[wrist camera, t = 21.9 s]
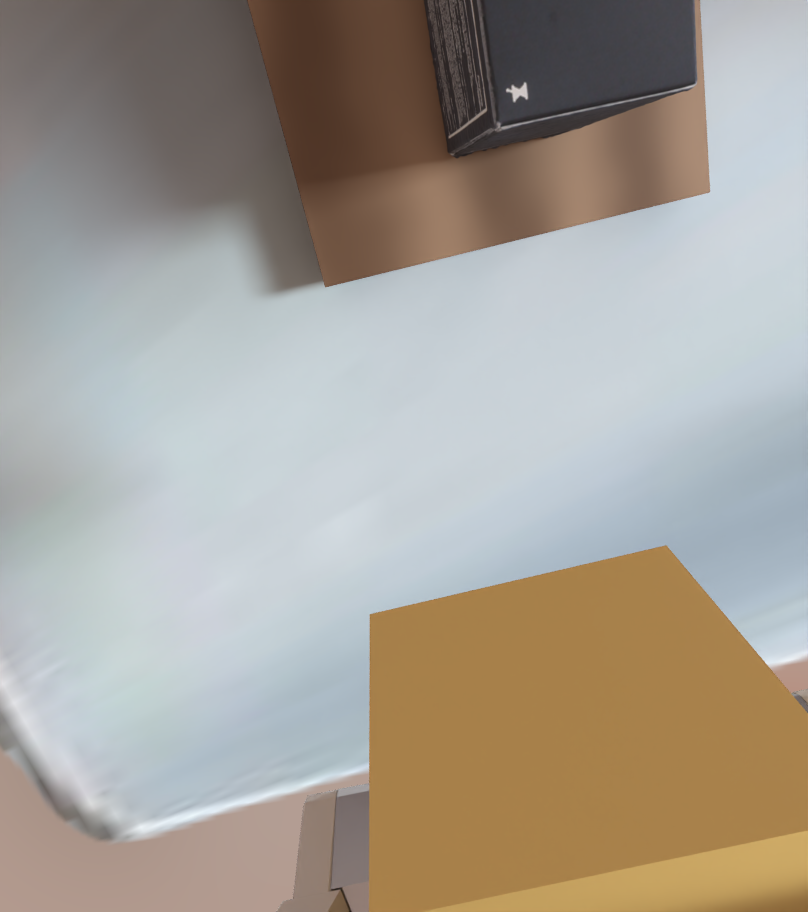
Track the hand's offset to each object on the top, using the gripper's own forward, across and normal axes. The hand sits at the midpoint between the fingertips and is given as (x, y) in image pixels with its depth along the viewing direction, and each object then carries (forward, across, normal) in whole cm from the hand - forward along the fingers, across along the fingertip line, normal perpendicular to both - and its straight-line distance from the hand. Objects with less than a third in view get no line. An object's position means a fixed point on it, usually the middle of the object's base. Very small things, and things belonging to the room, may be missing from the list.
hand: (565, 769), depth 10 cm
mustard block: (+2, 0, 0) cm, 2 cm away
